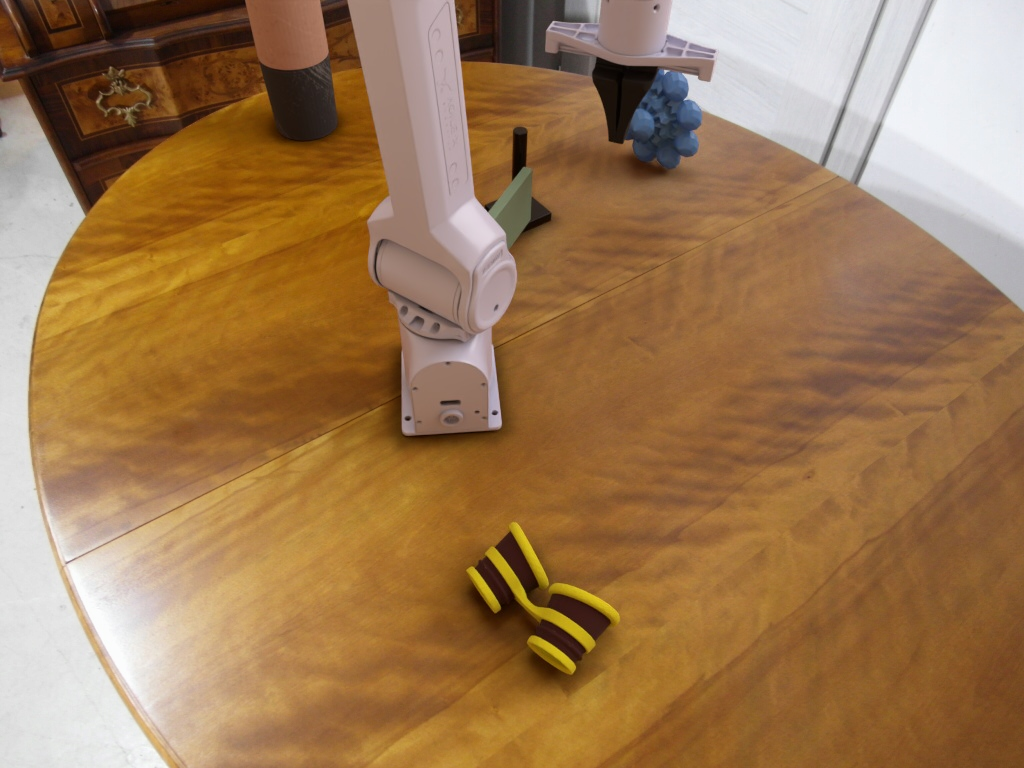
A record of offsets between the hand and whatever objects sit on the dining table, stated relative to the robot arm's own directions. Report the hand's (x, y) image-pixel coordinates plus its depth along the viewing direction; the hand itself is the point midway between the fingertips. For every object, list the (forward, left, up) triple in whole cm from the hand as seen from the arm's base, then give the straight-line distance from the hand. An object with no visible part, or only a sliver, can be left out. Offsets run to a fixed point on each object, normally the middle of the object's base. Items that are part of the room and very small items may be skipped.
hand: (618, 137), depth 72 cm
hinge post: (+3, +9, -10) cm, 14 cm away
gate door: (-4, +12, -9) cm, 16 cm away
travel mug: (+22, +32, -11) cm, 40 cm away
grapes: (+11, -6, -11) cm, 16 cm away
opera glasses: (-41, +12, -11) cm, 44 cm away
